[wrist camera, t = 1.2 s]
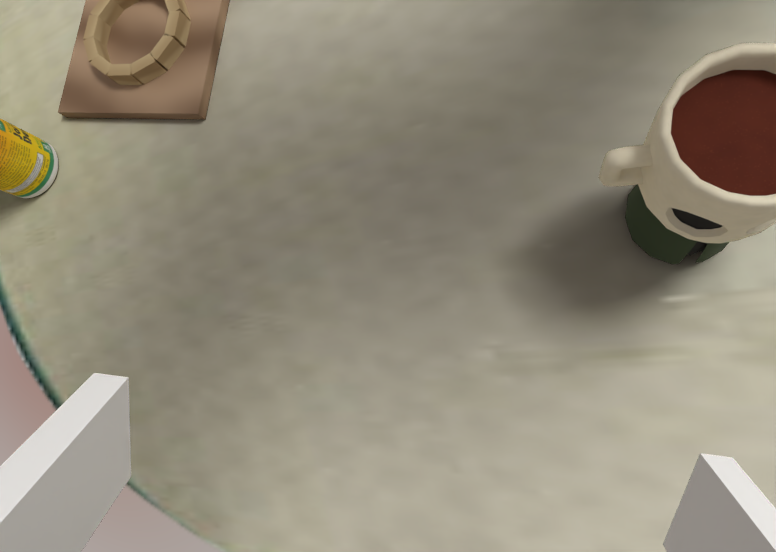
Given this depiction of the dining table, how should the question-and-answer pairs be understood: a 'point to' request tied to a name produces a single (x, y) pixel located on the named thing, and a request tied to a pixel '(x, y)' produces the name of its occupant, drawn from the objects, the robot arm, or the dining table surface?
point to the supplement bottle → (25, 162)
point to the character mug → (705, 158)
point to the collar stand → (144, 59)
